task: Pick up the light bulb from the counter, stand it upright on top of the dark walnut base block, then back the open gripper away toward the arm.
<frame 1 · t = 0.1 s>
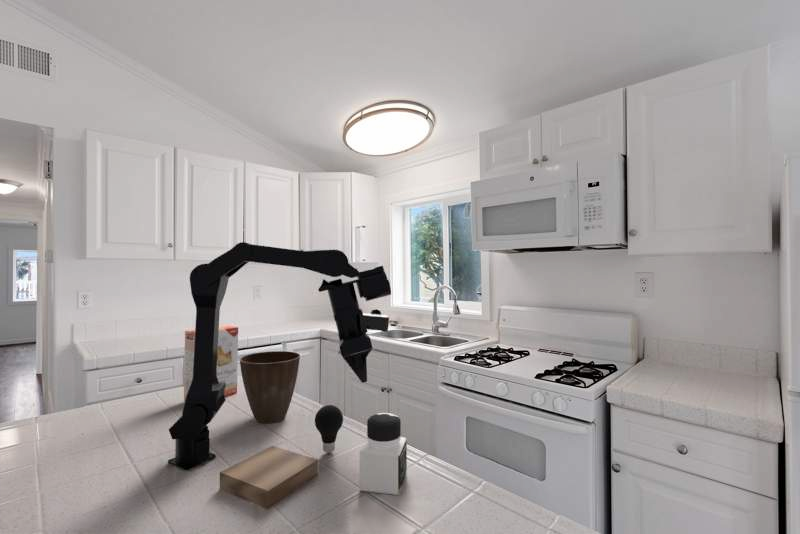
hand: (363, 376, 86), 15 cm above the countertop, tool pointing down, fingers open, 9 cm apart
walnut base: (270, 482, 72), on the countertop
cracker box: (211, 398, 119), on the countertop
plant pot: (270, 419, 103), on the countertop
light bulb: (328, 454, 83), on the countertop
medicine bottle: (383, 484, 72), on the countertop
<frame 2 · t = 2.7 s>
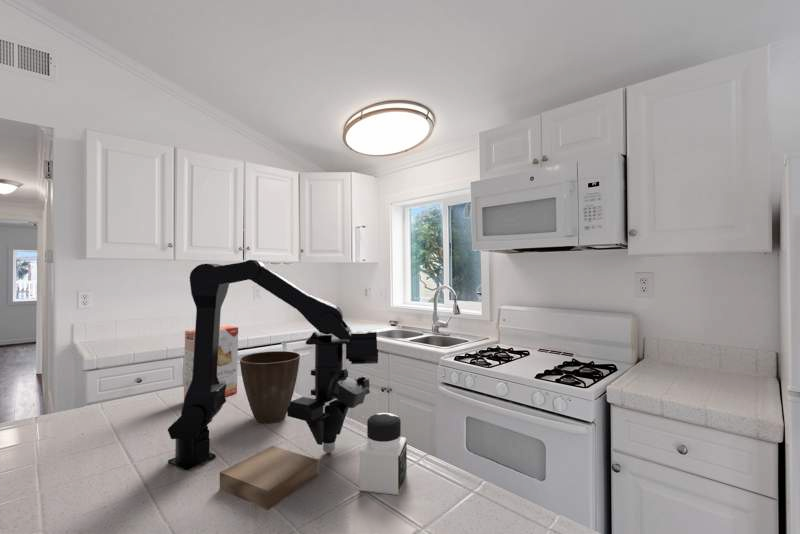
hand: (328, 439, 83), 3 cm above the countertop, tool pointing down, fingers closed on light bulb, 5 cm apart
light bulb: (328, 454, 83), on the countertop, touching gripper
everything else where it was.
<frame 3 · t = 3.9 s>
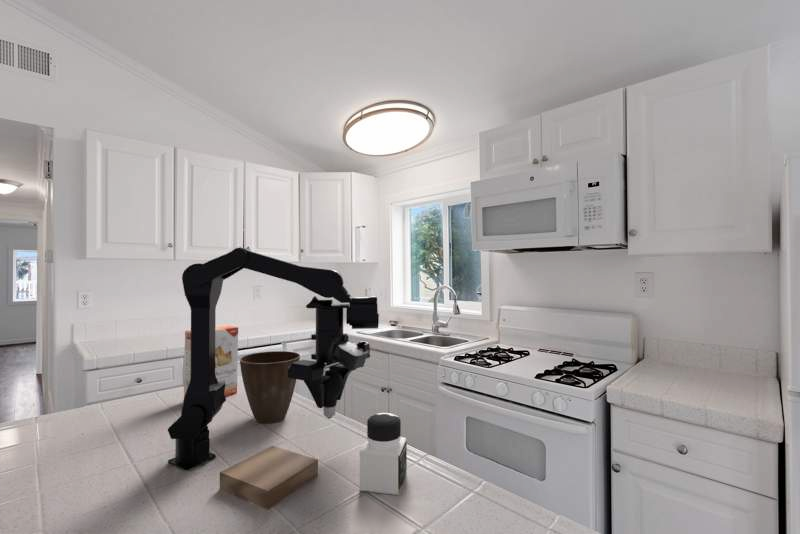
hand: (329, 403, 83), 10 cm above the countertop, tool pointing down, fingers closed on light bulb, 5 cm apart
light bulb: (329, 419, 83), point 7 cm above the countertop, touching gripper
everything else where it was.
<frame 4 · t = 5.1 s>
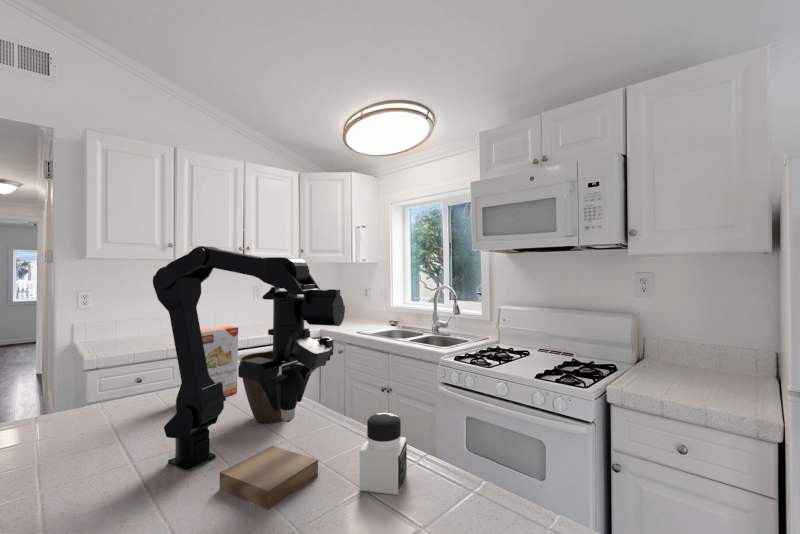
hand: (287, 406, 75), 13 cm above the countertop, tool pointing down, fingers closed on light bulb, 5 cm apart
light bulb: (287, 423, 75), point 10 cm above the countertop, touching gripper
everything else where it was.
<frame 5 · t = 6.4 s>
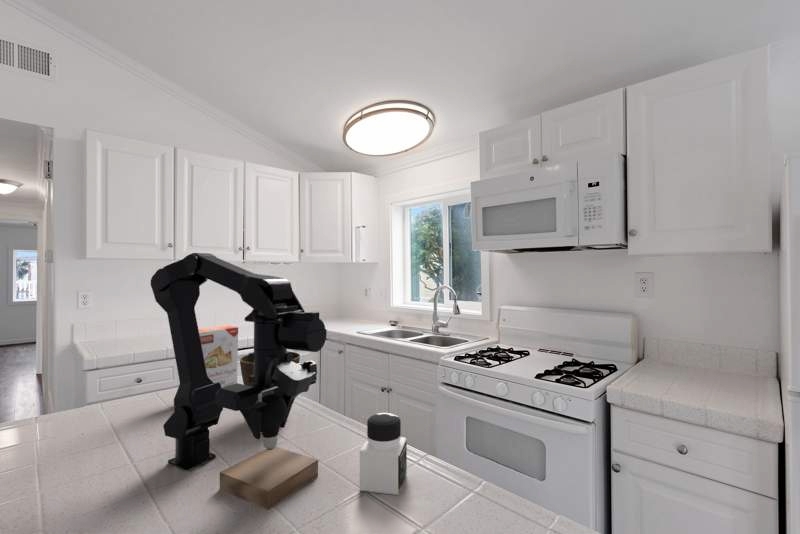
hand: (269, 432, 72), 9 cm above the countertop, tool pointing down, fingers closed on light bulb, 5 cm apart
light bulb: (270, 450, 72), point 6 cm above the countertop, touching gripper
everything else where it was.
when the fingers open (7 cm above the countertop, at t = 7.7 s): light bulb stays where it is, resting on walnut base.
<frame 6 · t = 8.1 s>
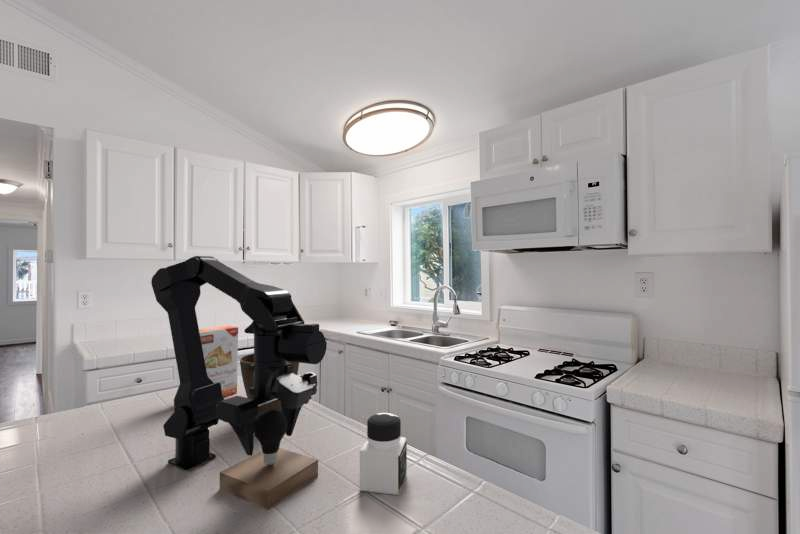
hand: (270, 444, 72), 7 cm above the countertop, tool pointing down, fingers open, 9 cm apart
light bulb: (270, 466, 72), point 3 cm above the countertop, touching walnut base
everything else where it was.
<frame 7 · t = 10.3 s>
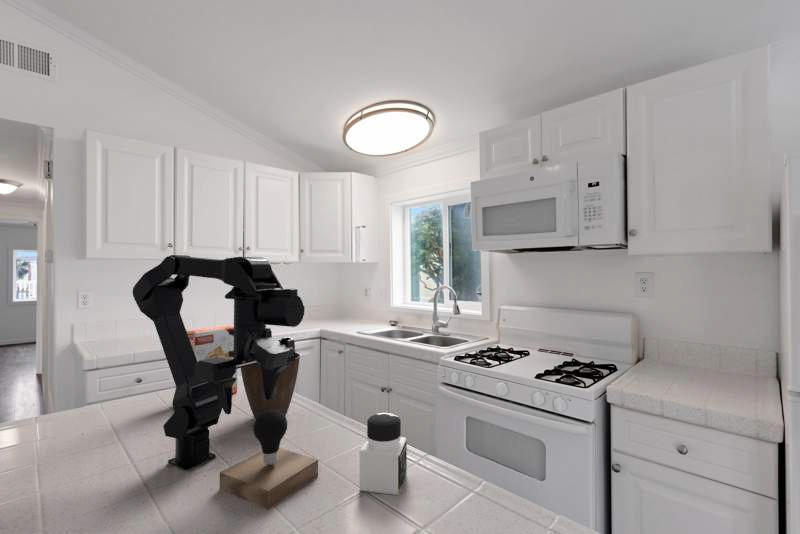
hand: (249, 406, 75), 13 cm above the countertop, tool pointing down, fingers open, 9 cm apart
nothing on the countertop moved.
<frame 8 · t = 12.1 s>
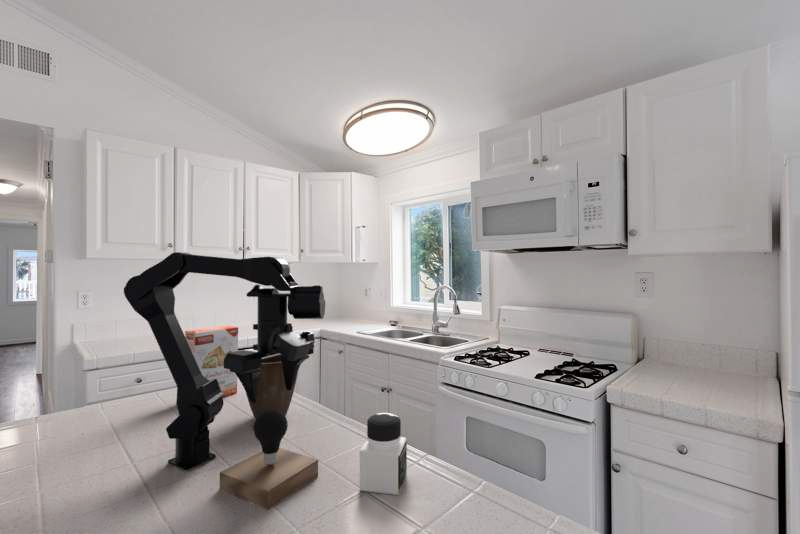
hand: (272, 396, 80), 13 cm above the countertop, tool pointing down, fingers open, 9 cm apart
nothing on the countertop moved.
at the end: light bulb inside the target area on the walnut base (0.0 cm from its centre), point 2.8 cm above the walnut base's base; light bulb tilted 0°; the gripper is holding nothing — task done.
